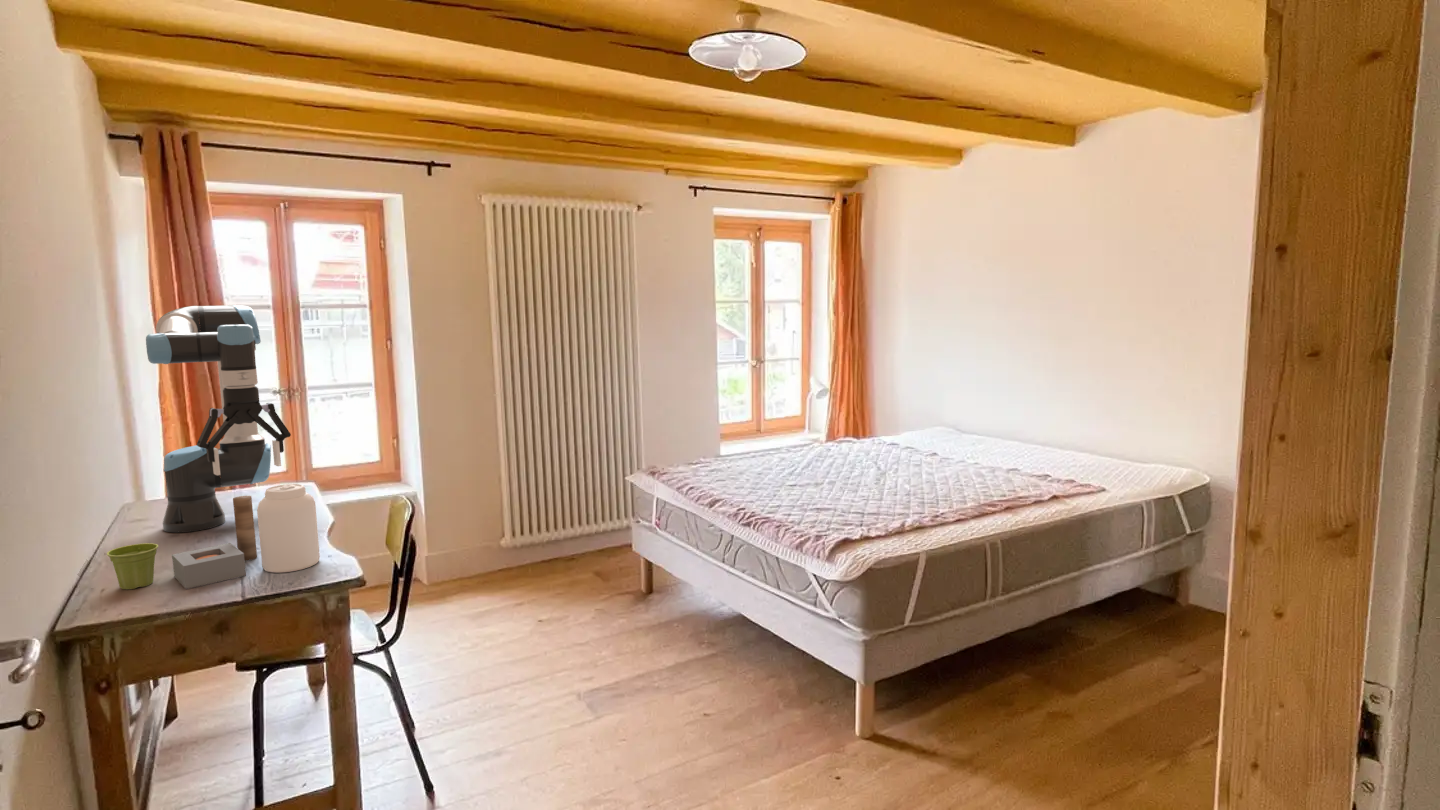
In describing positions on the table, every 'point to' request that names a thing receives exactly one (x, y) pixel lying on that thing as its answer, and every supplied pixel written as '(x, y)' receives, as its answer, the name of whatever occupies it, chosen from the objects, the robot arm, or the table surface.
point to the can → (288, 529)
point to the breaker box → (208, 565)
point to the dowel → (245, 526)
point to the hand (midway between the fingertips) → (248, 470)
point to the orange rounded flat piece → (206, 556)
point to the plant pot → (134, 564)
